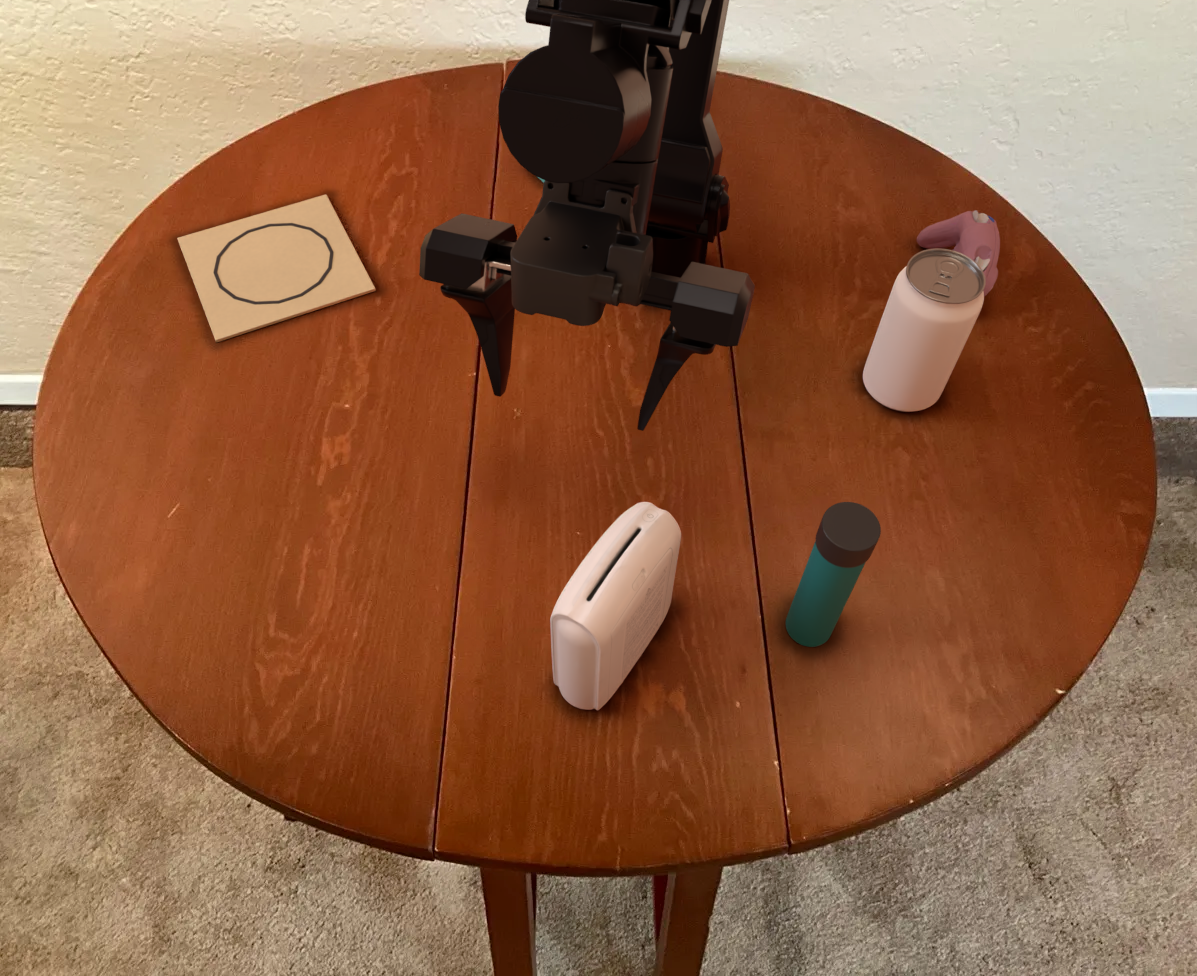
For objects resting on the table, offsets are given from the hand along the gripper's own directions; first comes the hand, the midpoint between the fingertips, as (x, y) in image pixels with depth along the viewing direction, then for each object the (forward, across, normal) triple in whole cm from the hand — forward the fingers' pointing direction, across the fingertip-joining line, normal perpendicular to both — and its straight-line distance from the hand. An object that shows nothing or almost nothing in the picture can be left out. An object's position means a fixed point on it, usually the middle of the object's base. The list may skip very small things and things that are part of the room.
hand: (569, 410), depth 60 cm
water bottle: (+13, +18, +4) cm, 23 cm away
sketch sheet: (+4, -34, +23) cm, 41 cm away
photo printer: (+16, +6, -1) cm, 17 cm away
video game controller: (-4, +24, +37) cm, 44 cm away
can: (+3, +22, +25) cm, 33 cm away
